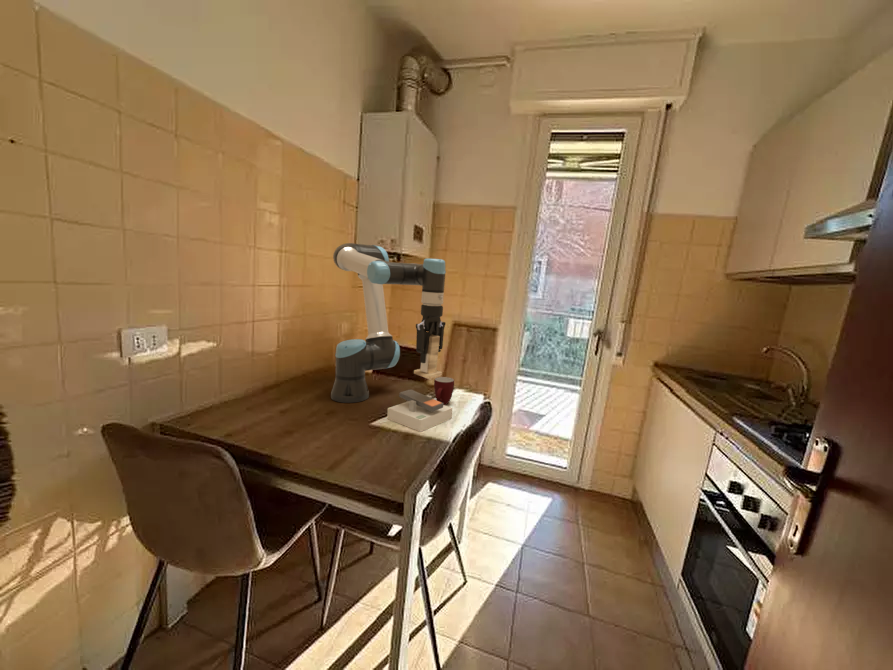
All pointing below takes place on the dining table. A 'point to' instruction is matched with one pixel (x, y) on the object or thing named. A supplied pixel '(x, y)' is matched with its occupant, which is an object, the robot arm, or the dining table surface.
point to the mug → (443, 389)
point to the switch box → (418, 415)
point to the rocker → (421, 400)
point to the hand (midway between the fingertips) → (428, 370)
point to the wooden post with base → (431, 359)
